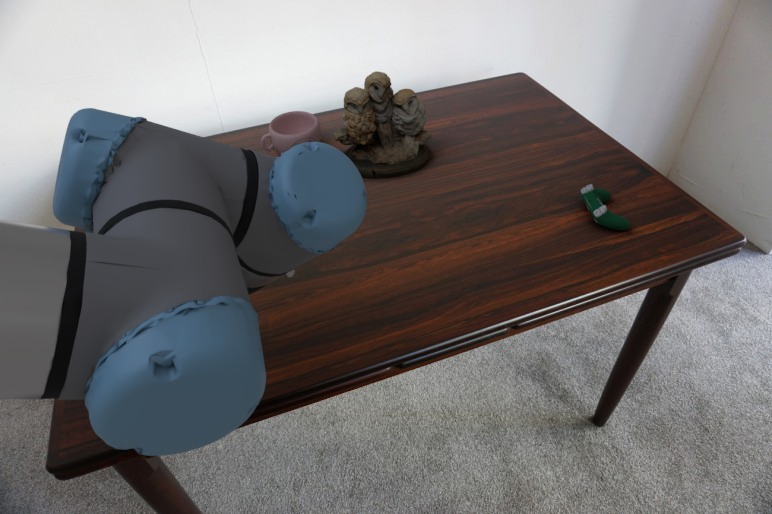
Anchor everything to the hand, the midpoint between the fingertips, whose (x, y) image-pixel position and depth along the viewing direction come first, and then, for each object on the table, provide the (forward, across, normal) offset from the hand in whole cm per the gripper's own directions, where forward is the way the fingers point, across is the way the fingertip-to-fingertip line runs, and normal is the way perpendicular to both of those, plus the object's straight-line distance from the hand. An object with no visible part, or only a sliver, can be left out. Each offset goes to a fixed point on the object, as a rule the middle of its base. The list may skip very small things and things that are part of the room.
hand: (177, 301), depth 64 cm
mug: (+18, +44, +5) cm, 48 cm away
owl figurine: (+5, +49, -8) cm, 50 cm away
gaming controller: (-23, +50, -36) cm, 66 cm away
